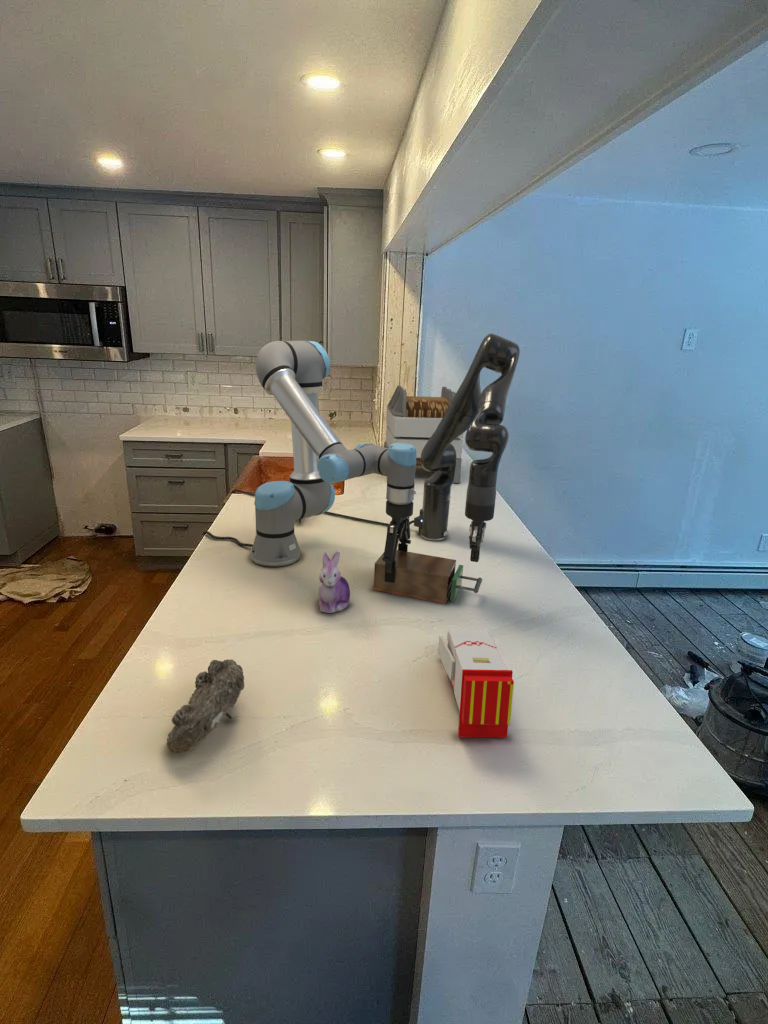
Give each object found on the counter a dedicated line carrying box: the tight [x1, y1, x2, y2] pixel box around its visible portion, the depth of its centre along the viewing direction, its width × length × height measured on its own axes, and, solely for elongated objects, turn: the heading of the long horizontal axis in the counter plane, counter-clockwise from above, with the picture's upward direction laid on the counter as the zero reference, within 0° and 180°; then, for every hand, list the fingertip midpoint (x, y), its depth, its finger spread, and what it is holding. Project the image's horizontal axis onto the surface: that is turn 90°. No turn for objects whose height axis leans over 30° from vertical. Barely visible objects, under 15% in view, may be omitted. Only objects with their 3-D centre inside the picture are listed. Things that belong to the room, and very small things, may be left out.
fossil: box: [166, 658, 245, 754], centre depth 106 cm, size 22×10×15 cm
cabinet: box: [373, 549, 457, 605], centre depth 160 cm, size 21×11×8 cm, turn 72°
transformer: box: [383, 384, 464, 484], centre depth 268 cm, size 34×33×41 cm
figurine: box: [318, 551, 351, 614], centre depth 147 cm, size 9×10×15 cm
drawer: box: [447, 564, 483, 602], centre depth 159 cm, size 25×10×6 cm, turn 72°
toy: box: [437, 628, 515, 738], centre depth 117 cm, size 12×13×30 cm
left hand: (395, 572), depth 162 cm, fingers closed on cabinet, 11 cm apart
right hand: (474, 560), depth 153 cm, fingers closed
